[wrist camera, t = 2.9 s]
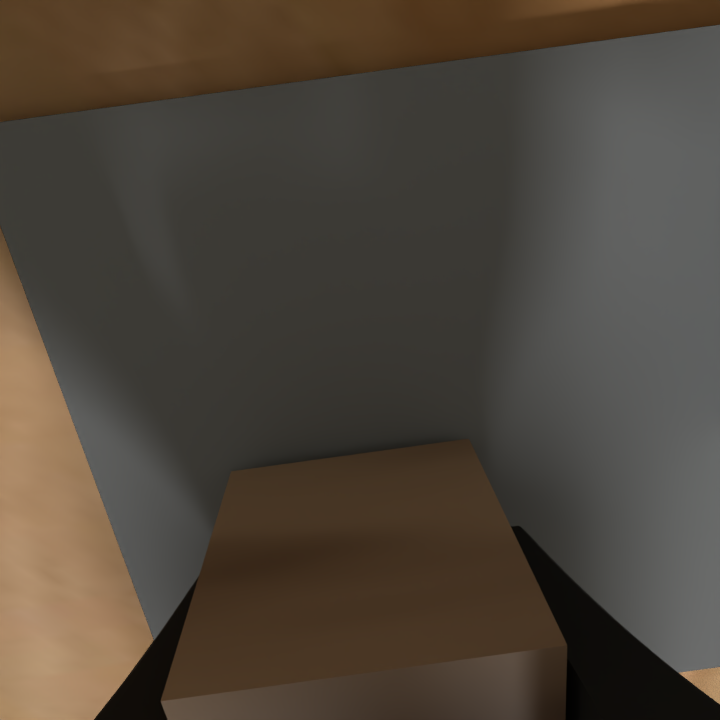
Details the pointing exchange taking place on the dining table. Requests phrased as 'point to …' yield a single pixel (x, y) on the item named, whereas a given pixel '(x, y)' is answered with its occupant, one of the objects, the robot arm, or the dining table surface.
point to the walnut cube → (367, 598)
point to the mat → (402, 302)
